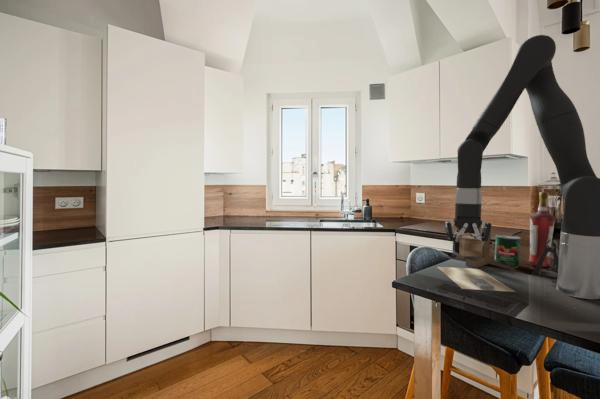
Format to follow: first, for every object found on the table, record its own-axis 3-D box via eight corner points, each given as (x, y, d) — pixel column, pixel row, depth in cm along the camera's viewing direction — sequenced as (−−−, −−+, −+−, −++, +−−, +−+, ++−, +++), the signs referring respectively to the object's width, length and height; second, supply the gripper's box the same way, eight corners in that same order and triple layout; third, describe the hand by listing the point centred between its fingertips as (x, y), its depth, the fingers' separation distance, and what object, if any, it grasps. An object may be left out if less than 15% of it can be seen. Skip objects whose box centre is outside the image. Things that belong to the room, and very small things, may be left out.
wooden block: (489, 266, 113) (491, 218, 112) (475, 271, 107) (478, 220, 105) (478, 264, 116) (481, 217, 115) (464, 268, 109) (467, 219, 108)
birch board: (478, 272, 105) (479, 268, 105) (515, 296, 84) (515, 291, 84) (436, 270, 107) (436, 266, 107) (462, 292, 85) (462, 288, 85)
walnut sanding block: (469, 253, 104) (469, 236, 104) (481, 259, 95) (482, 240, 95) (452, 252, 105) (452, 235, 105) (463, 259, 96) (463, 240, 96)
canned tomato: (511, 262, 119) (513, 235, 118) (523, 268, 111) (525, 238, 110) (490, 261, 120) (491, 234, 119) (500, 267, 112) (501, 237, 112)
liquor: (525, 262, 120) (529, 191, 118) (548, 265, 117) (553, 192, 115) (528, 266, 114) (533, 192, 112) (553, 269, 110) (559, 192, 108)
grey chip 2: (488, 285, 88) (488, 282, 88) (493, 289, 85) (493, 286, 85) (475, 284, 89) (475, 282, 89) (480, 288, 86) (480, 285, 86)
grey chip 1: (482, 281, 92) (482, 279, 92) (487, 285, 89) (487, 282, 89) (470, 281, 92) (470, 278, 92) (474, 284, 89) (475, 281, 89)
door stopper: (531, 274, 105) (533, 239, 104) (533, 270, 109) (535, 237, 108) (566, 280, 98) (568, 243, 98) (567, 276, 103) (569, 241, 102)
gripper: (449, 202, 96) (447, 255, 97) (497, 203, 95) (495, 256, 96) (441, 201, 104) (439, 250, 105) (486, 201, 102) (484, 251, 103)
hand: (466, 253), depth 100 cm, fingers closed on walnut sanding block, 5 cm apart
